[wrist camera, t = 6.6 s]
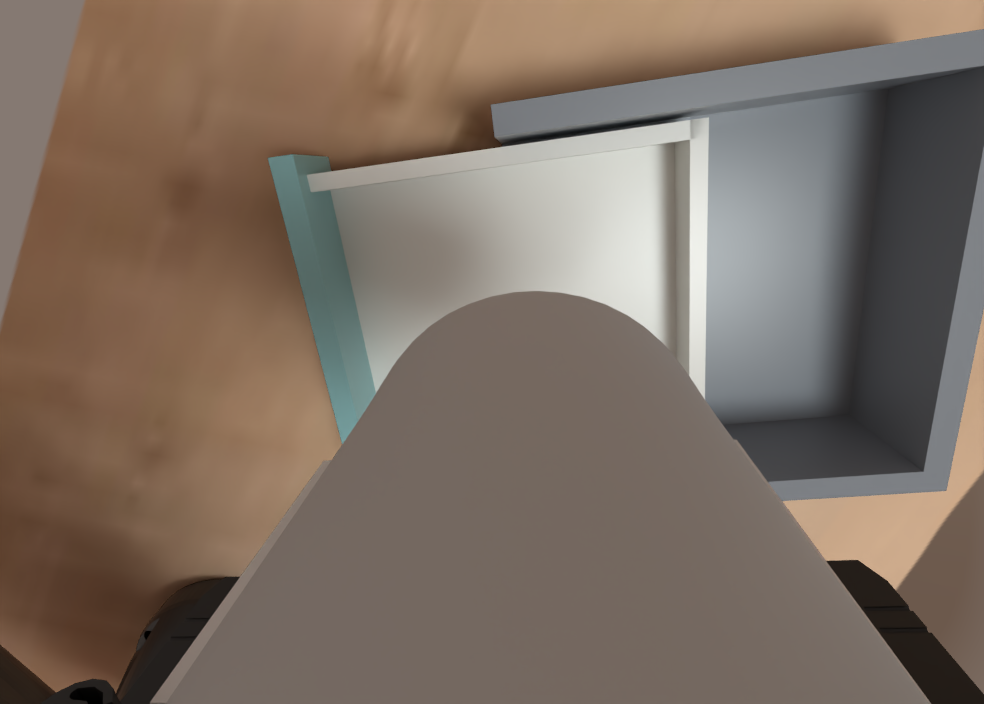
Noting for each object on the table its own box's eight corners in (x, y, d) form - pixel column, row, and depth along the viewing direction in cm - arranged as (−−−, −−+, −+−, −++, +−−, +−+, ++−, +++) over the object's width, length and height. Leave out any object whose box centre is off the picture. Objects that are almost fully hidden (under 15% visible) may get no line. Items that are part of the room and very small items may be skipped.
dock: (537, 447, 33) (539, 515, 27) (500, 121, 27) (490, 104, 20) (858, 423, 31) (946, 490, 24) (904, 60, 24) (1042, 20, 18)
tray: (378, 461, 33) (357, 501, 29) (307, 159, 27) (267, 157, 23) (686, 437, 31) (710, 477, 27) (686, 104, 25) (717, 91, 21)
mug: (501, 214, 12) (254, 597, 1) (767, 418, 13) (1724, 1438, 3) (270, 536, 15) (-254, 1277, 5) (492, 668, 17) (429, 1471, 6)
